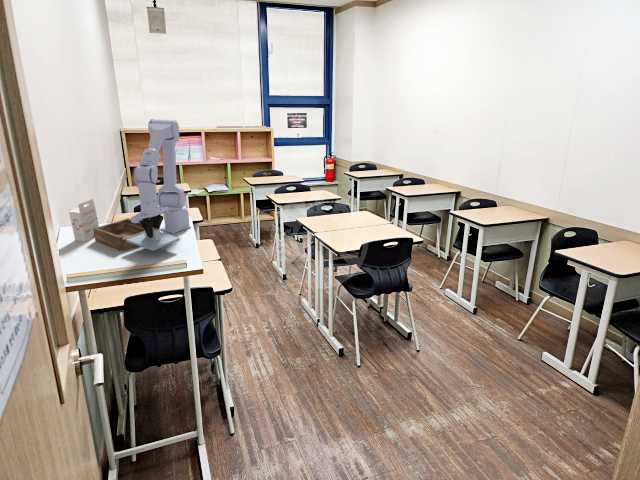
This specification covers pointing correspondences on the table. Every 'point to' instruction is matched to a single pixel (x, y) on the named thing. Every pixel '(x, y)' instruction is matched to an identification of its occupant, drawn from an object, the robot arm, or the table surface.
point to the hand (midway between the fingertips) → (153, 236)
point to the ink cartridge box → (84, 221)
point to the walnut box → (118, 234)
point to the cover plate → (153, 240)
